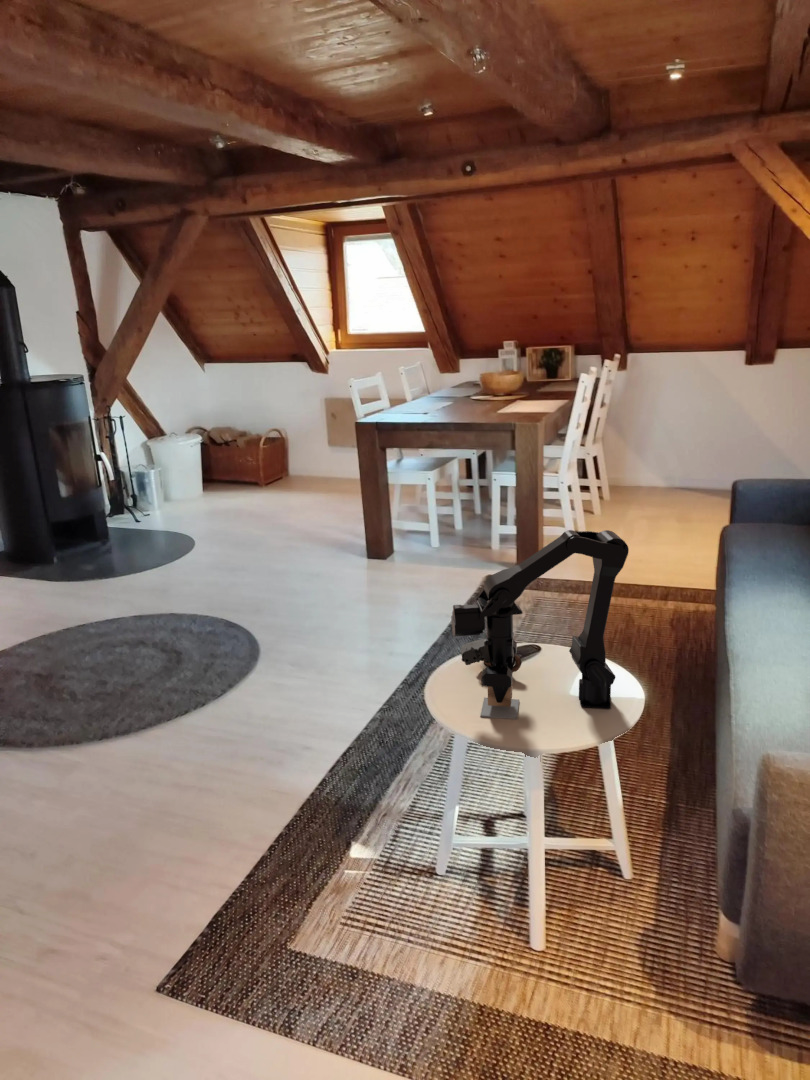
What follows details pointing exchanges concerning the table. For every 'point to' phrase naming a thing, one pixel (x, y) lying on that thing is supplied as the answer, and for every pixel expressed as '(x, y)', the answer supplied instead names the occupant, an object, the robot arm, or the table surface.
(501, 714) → the felt coaster
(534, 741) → the table surface
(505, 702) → the walnut block
